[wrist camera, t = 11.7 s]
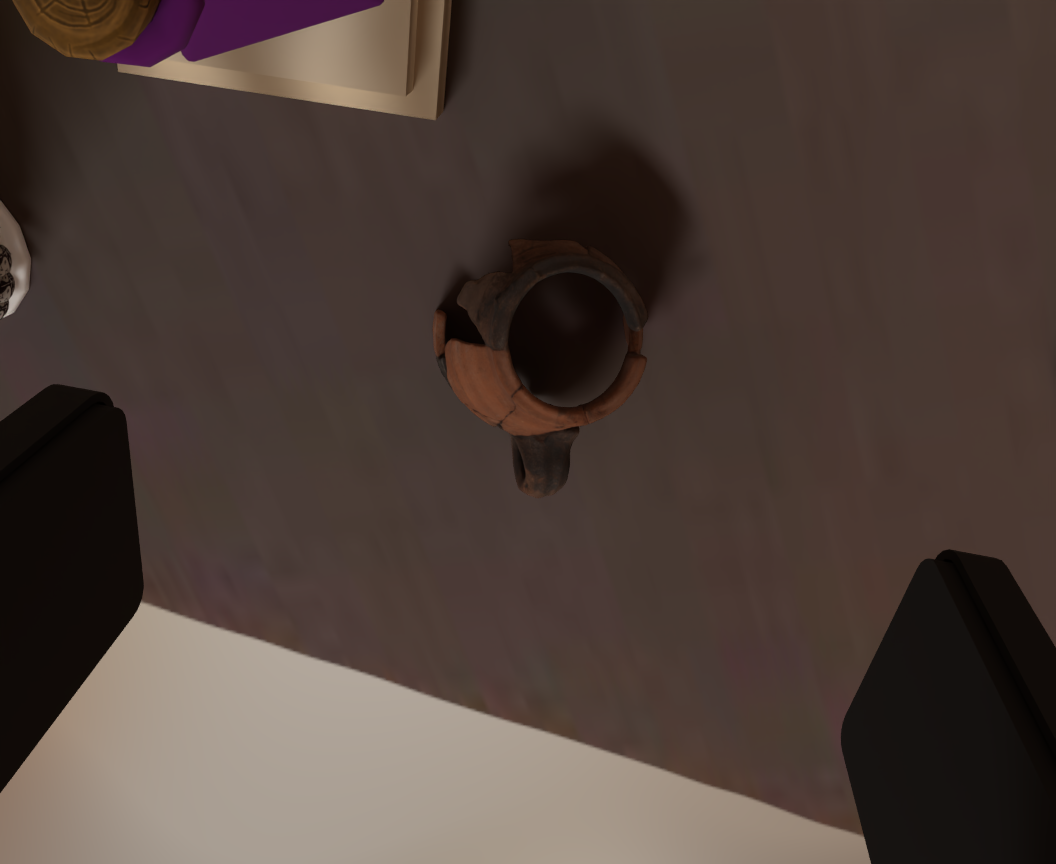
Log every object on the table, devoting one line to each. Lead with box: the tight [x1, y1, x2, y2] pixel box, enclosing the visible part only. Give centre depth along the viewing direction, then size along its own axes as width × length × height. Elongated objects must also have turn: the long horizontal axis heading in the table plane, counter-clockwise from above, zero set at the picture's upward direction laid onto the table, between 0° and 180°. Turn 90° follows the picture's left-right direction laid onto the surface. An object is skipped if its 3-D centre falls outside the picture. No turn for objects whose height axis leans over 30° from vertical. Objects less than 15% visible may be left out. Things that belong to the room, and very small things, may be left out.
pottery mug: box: [433, 239, 648, 498], centre depth 39 cm, size 12×10×8 cm
